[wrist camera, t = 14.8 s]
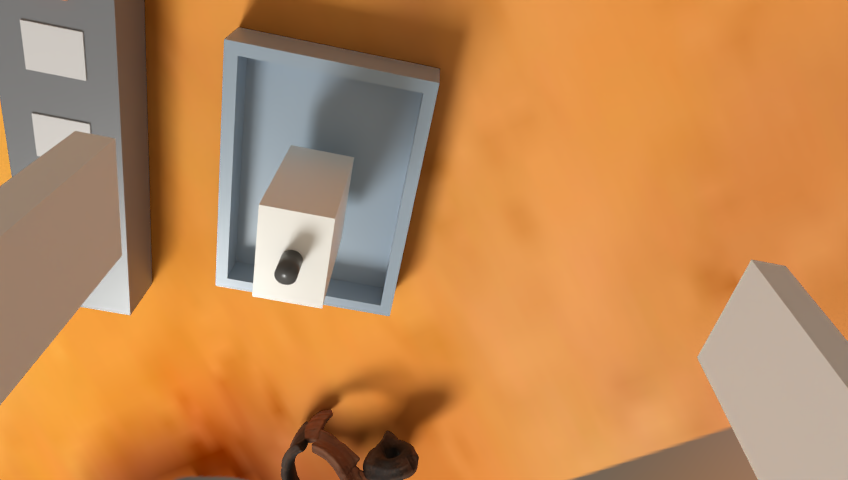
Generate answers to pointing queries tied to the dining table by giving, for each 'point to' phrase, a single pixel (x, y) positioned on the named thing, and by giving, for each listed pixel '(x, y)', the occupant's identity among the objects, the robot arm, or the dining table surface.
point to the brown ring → (351, 454)
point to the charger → (301, 226)
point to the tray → (330, 132)
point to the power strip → (84, 110)
